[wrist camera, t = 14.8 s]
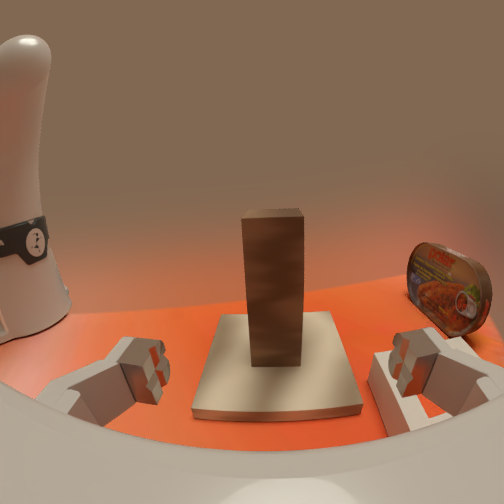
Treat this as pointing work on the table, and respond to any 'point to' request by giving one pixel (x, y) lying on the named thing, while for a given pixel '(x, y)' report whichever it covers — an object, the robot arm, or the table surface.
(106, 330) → the table surface
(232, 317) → the board
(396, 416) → the holder
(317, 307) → the table surface
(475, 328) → the tin
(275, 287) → the peg
